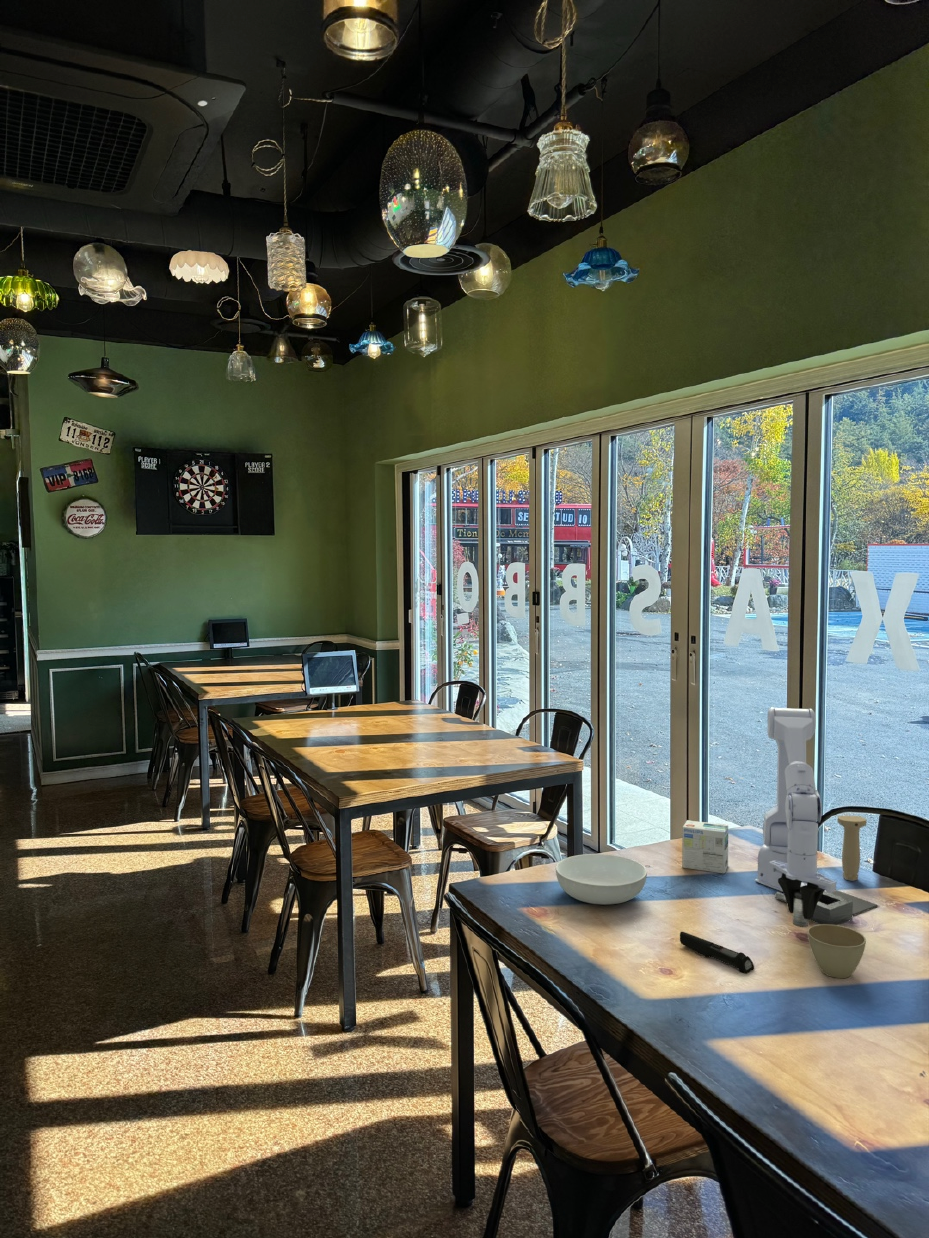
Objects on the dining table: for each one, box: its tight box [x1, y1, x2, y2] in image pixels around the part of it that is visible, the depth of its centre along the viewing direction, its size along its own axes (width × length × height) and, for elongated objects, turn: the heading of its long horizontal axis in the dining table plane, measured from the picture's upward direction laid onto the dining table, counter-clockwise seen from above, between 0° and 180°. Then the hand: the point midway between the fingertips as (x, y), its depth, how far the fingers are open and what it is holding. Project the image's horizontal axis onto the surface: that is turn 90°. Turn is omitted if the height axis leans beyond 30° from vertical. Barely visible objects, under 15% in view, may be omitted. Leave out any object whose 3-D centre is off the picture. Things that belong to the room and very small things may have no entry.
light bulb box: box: [681, 819, 729, 874], centre depth 212 cm, size 11×7×11 cm, turn 66°
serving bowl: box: [555, 853, 648, 905], centre depth 193 cm, size 21×21×7 cm
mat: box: [831, 889, 878, 917], centre depth 189 cm, size 10×9×1 cm
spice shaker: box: [792, 889, 810, 928], centre depth 174 cm, size 3×3×7 cm
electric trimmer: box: [679, 931, 755, 975], centre depth 163 cm, size 4×16×3 cm, turn 40°
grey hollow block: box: [774, 890, 853, 926], centre depth 185 cm, size 16×8×4 cm, turn 32°
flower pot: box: [807, 924, 867, 979], centre depth 157 cm, size 10×10×7 cm
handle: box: [837, 814, 868, 882], centre depth 203 cm, size 5×6×15 cm
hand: (800, 914), depth 174 cm, fingers closed on spice shaker, 3 cm apart
